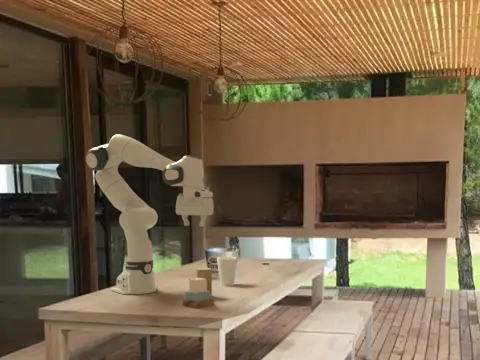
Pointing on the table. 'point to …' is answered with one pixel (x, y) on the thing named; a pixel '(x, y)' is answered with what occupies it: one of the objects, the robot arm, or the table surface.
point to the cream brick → (197, 285)
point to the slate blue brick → (197, 296)
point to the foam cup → (227, 270)
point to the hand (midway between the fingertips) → (194, 225)
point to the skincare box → (205, 277)
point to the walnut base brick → (198, 303)
